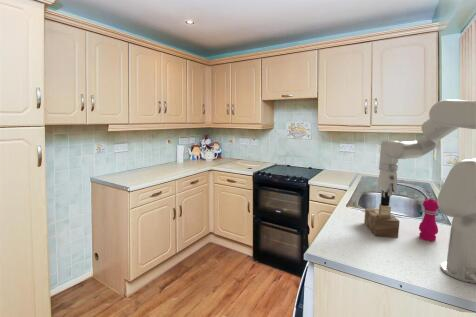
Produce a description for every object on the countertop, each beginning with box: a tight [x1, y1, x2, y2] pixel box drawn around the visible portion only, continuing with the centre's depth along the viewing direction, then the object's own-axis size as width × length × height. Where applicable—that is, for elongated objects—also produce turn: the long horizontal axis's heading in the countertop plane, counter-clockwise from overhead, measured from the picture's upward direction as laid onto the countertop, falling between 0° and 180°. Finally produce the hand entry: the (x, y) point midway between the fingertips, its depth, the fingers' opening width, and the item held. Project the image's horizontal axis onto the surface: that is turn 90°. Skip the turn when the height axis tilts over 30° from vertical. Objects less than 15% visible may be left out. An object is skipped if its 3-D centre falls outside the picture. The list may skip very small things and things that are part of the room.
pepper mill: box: [418, 195, 440, 242], centre depth 124 cm, size 7×7×20 cm
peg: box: [378, 203, 392, 219], centre depth 130 cm, size 4×4×8 cm
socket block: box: [363, 208, 400, 238], centre depth 134 cm, size 16×10×8 cm, turn 172°
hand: (384, 205), depth 129 cm, fingers closed
